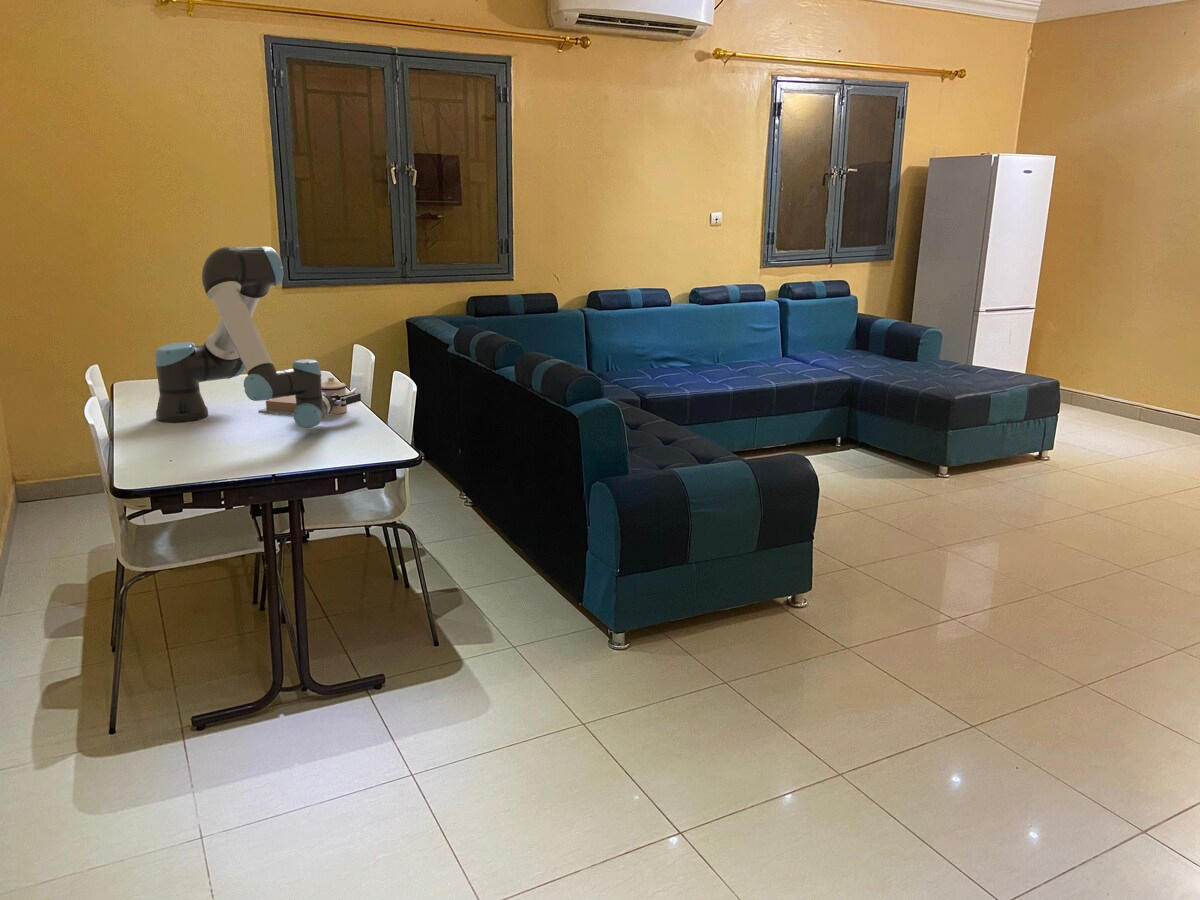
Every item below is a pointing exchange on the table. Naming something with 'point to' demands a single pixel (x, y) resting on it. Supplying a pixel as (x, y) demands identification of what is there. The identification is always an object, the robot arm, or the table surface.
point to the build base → (281, 405)
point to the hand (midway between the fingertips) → (334, 392)
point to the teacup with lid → (335, 393)
